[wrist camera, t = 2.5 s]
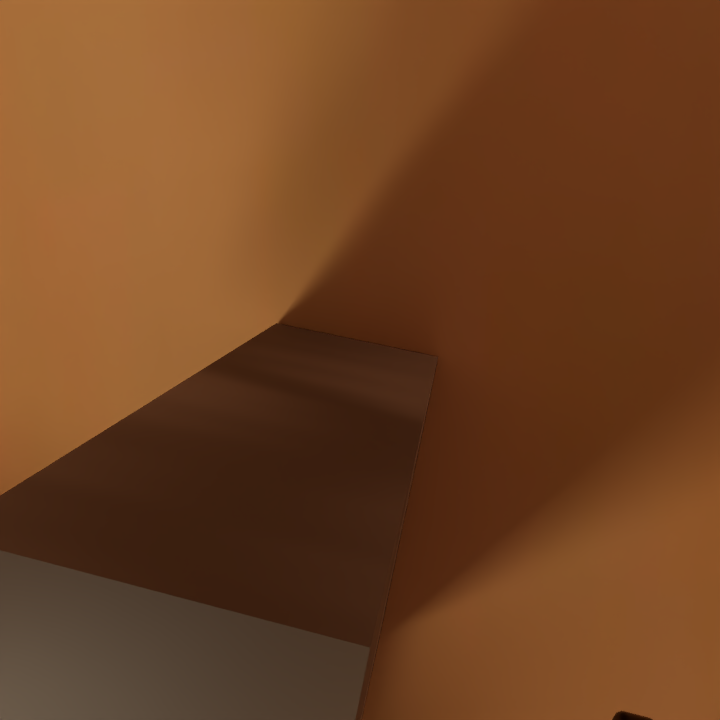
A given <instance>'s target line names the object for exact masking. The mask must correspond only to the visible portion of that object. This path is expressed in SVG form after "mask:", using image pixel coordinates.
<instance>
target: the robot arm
mask: <svg viewBox="0 0 720 720" xmlns="http://www.w3.org/2000/svg"><path fill="white" fill-rule="evenodd" d="M612 720H652V719H650V718H648V717H644V716H640V715H636V714H632V713H629V712H625V711H620V712H618V713H616V714H615V716H614V717H613V719H612Z"/></svg>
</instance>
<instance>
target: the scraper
mask: <svg viewBox="0 0 720 720" xmlns="http://www.w3.org/2000/svg"><path fill="white" fill-rule="evenodd" d="M437 360H438V357H436V356H431V355H427V354H422V353H417V352H412V351H407V350H403V349H398V348H393V347H388V346H383V345H378V344H374V343H369V342H364V341H359V340H354V339H350V338H345V337H340V336H335V335H330V334H325V333H321V332H316V331H311V330H306V329H301V328H297V327H292V326H287V325H282V324H277V323H276V324H275V325H273V326H271V327H270V328H268V329H267V330H265V331H263V332H262V333H260V334H259V335H257V336H255V337H254V338H252V339H251V340H249V341H247V342H246V343H244V344H243V345H241V346H239V347H238V348H236V349H235V350H233V351H231V352H230V353H228V354H227V355H225V356H223V357H222V358H220V359H219V360H217V361H215V362H214V363H212V364H211V365H209V366H207V367H206V368H204V369H203V370H201V371H199V372H198V373H196V374H195V375H193V376H191V377H190V378H188V379H187V380H185V381H183V382H182V383H180V384H178V385H177V386H175V387H174V388H172V389H170V390H169V391H167V392H166V393H164V394H162V395H161V396H159V397H158V398H156V399H154V400H153V401H151V402H150V403H148V404H146V405H145V406H143V407H142V408H140V409H138V410H137V411H135V412H134V413H132V414H130V415H129V416H127V417H126V418H124V419H122V420H121V421H119V422H118V423H116V424H114V425H113V426H111V427H110V428H108V429H106V430H105V431H103V432H102V433H100V434H98V435H97V436H95V437H94V438H92V439H90V440H89V441H87V442H86V443H84V444H82V445H81V446H79V447H78V448H76V449H74V450H73V451H71V452H70V453H68V454H66V455H65V456H63V457H61V458H60V459H58V460H57V461H55V462H53V463H52V464H50V465H49V466H47V467H45V468H44V469H42V470H41V471H39V472H37V473H36V474H34V475H33V476H31V477H29V478H28V479H26V480H25V481H23V482H21V483H20V484H18V485H17V486H15V487H13V488H12V489H10V490H9V491H7V492H5V493H4V494H2V495H1V496H0V720H362V715H363V711H364V706H365V702H366V697H367V692H368V688H369V683H370V679H371V674H372V669H373V665H374V660H375V656H376V651H377V647H378V642H379V637H380V632H381V628H382V623H383V618H384V613H385V609H386V604H387V599H388V594H389V589H390V585H391V580H392V575H393V570H394V566H395V561H396V556H397V551H398V547H399V542H400V537H401V532H402V527H403V523H404V518H405V513H406V508H407V504H408V499H409V494H410V489H411V484H412V480H413V475H414V470H415V465H416V461H417V456H418V451H419V446H420V441H421V437H422V432H423V427H424V422H425V418H426V413H427V408H428V403H429V399H430V394H431V389H432V384H433V379H434V375H435V370H436V365H437Z"/></svg>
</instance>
